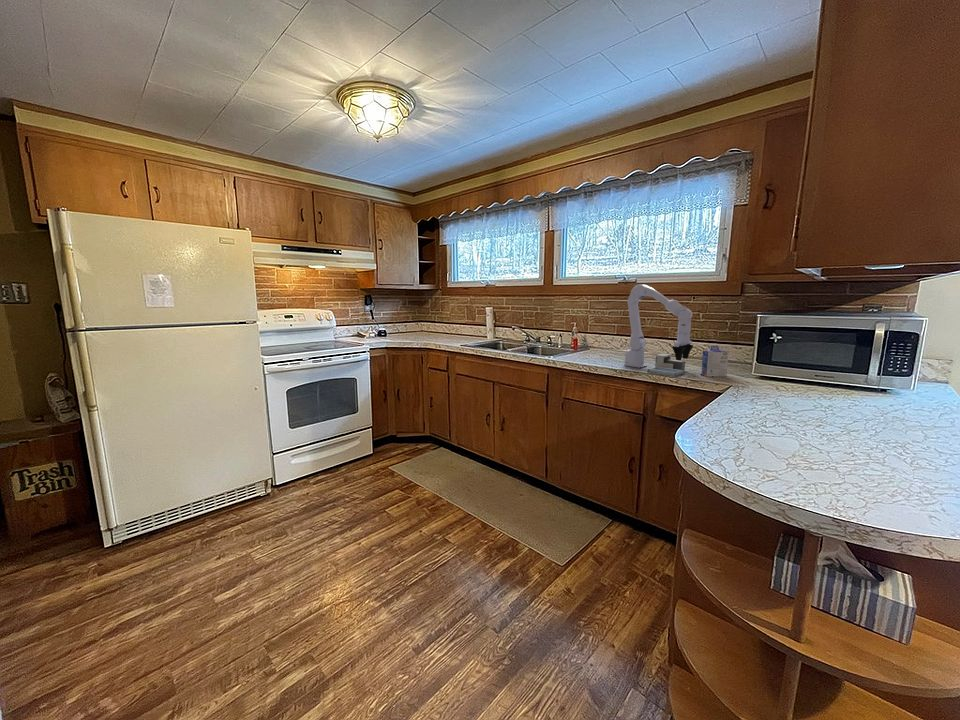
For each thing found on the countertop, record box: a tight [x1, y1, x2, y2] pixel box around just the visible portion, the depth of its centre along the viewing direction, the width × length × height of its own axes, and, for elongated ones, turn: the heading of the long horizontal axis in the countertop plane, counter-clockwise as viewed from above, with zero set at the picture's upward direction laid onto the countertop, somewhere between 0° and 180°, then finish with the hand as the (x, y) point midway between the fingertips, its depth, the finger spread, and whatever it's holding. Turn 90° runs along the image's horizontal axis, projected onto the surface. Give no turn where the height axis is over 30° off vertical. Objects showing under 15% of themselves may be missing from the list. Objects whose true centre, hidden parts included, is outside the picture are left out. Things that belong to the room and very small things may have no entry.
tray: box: [646, 366, 685, 378], centre depth 194 cm, size 14×9×2 cm, turn 39°
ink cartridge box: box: [700, 345, 729, 378], centre depth 187 cm, size 10×6×14 cm, turn 89°
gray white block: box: [664, 358, 686, 370], centre depth 202 cm, size 9×4×5 cm, turn 40°
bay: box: [654, 353, 673, 369], centre depth 205 cm, size 9×8×7 cm
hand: (681, 359), depth 199 cm, fingers open, 7 cm apart
